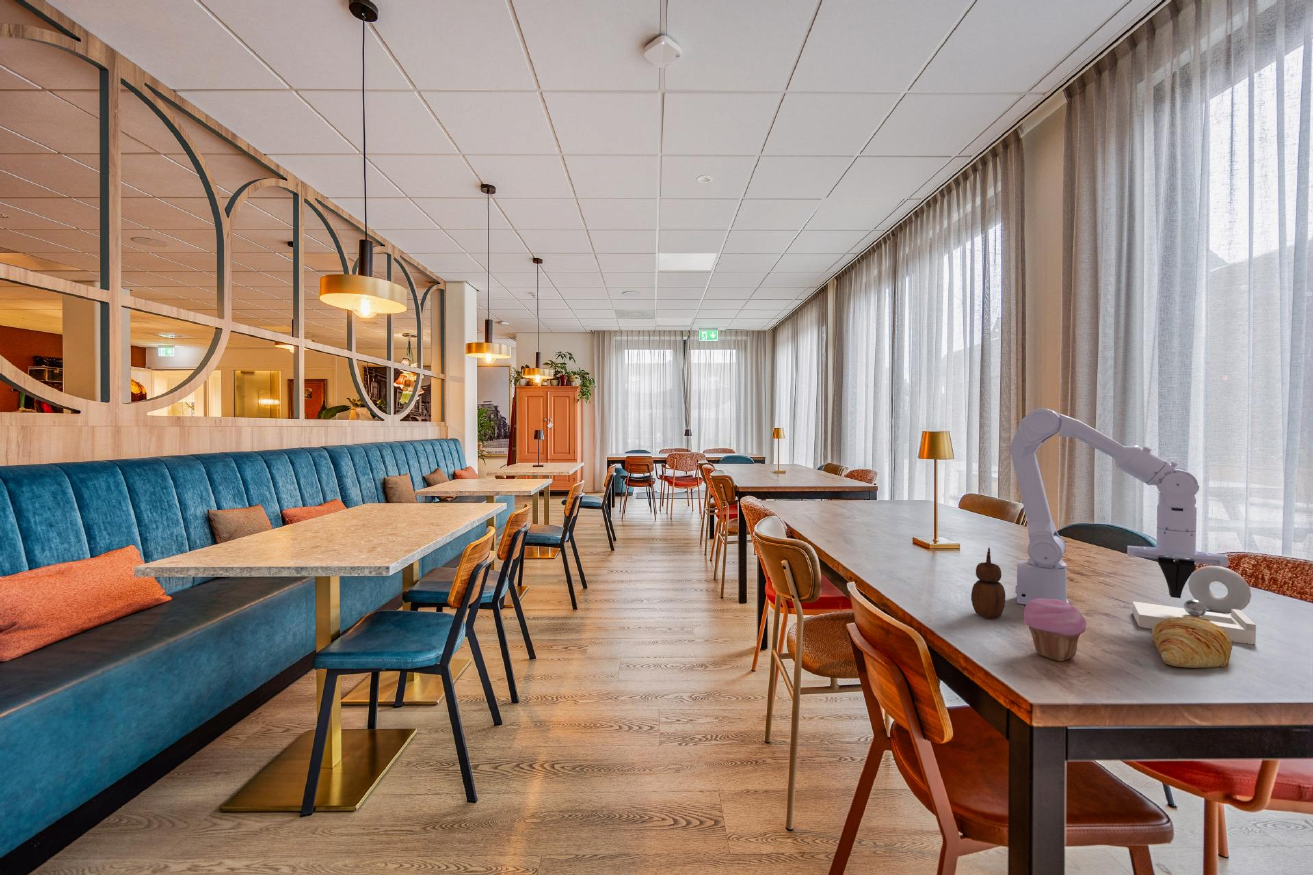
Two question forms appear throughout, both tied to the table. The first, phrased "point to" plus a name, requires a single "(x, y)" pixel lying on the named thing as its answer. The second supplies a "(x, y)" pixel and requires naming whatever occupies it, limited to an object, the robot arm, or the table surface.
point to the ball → (1195, 607)
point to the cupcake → (1054, 627)
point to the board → (1232, 624)
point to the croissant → (1192, 642)
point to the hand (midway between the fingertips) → (1174, 596)
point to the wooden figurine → (988, 590)
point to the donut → (1232, 580)
